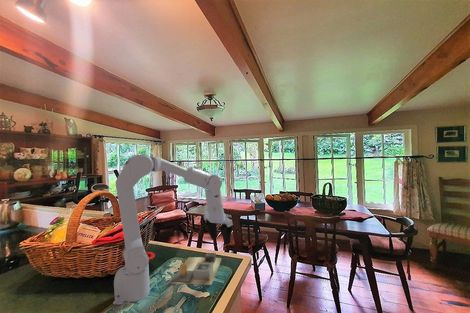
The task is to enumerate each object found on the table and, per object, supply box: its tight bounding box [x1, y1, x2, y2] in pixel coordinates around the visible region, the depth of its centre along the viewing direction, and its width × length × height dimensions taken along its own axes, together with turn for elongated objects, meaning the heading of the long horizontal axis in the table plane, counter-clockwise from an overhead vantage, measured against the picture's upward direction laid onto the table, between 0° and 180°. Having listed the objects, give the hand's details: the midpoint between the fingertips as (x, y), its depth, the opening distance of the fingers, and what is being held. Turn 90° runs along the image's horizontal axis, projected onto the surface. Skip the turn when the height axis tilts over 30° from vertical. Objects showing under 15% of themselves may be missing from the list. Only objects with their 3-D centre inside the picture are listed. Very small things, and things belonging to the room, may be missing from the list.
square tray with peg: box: [170, 262, 193, 283], centre depth 76 cm, size 6×6×5 cm
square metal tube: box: [193, 263, 213, 280], centre depth 77 cm, size 6×6×3 cm
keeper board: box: [170, 252, 223, 286], centre depth 81 cm, size 14×18×3 cm
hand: (220, 241), depth 83 cm, fingers open, 7 cm apart
